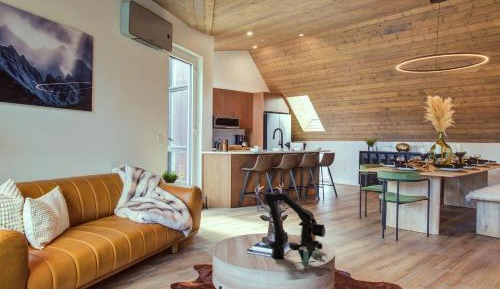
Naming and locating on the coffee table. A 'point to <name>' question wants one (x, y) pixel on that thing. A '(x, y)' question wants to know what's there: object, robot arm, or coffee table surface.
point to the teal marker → (305, 257)
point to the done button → (316, 251)
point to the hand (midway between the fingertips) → (305, 260)
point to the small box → (312, 236)
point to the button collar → (316, 256)
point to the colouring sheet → (298, 259)
